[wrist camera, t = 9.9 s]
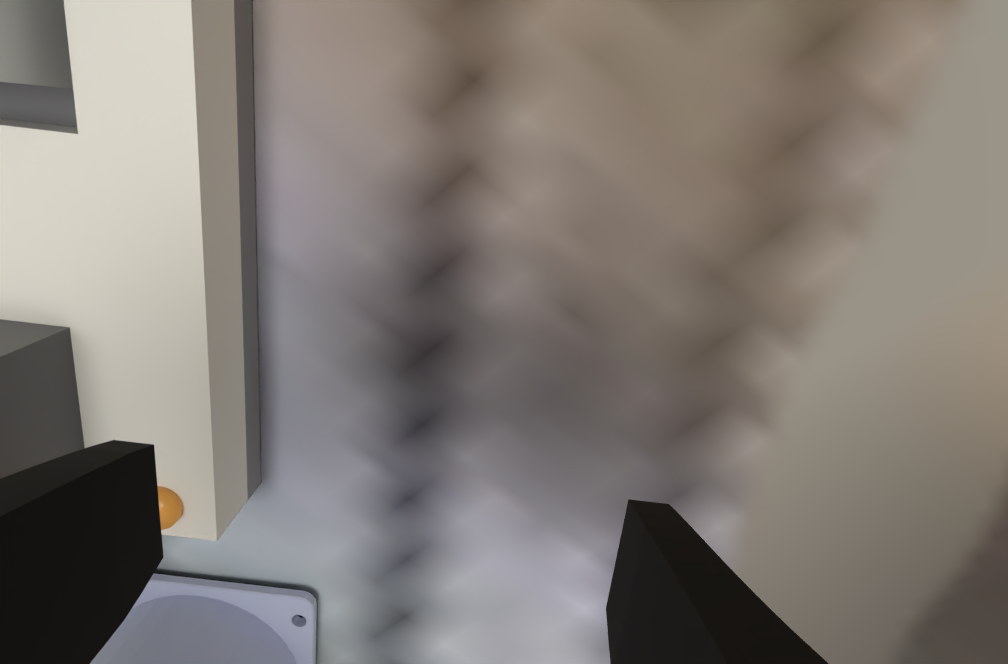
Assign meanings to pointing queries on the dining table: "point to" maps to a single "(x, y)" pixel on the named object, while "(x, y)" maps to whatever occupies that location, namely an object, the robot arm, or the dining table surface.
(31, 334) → the twin plug
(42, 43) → the plug
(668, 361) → the dining table surface
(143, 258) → the power strip
